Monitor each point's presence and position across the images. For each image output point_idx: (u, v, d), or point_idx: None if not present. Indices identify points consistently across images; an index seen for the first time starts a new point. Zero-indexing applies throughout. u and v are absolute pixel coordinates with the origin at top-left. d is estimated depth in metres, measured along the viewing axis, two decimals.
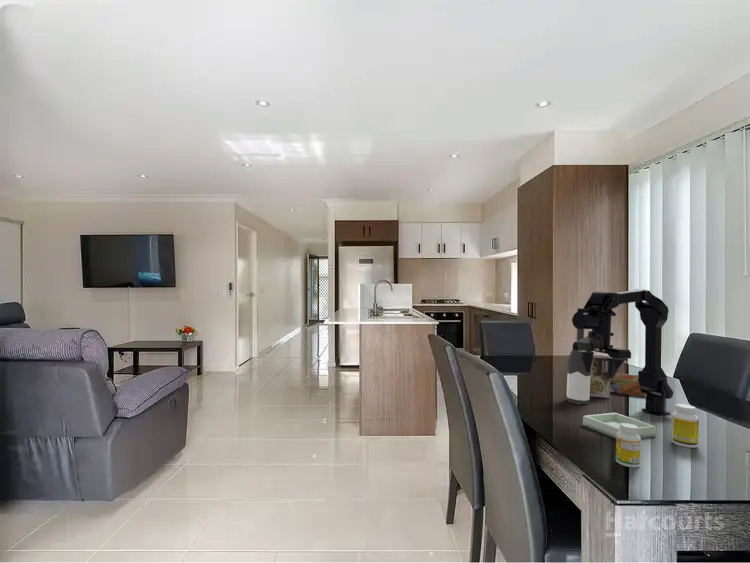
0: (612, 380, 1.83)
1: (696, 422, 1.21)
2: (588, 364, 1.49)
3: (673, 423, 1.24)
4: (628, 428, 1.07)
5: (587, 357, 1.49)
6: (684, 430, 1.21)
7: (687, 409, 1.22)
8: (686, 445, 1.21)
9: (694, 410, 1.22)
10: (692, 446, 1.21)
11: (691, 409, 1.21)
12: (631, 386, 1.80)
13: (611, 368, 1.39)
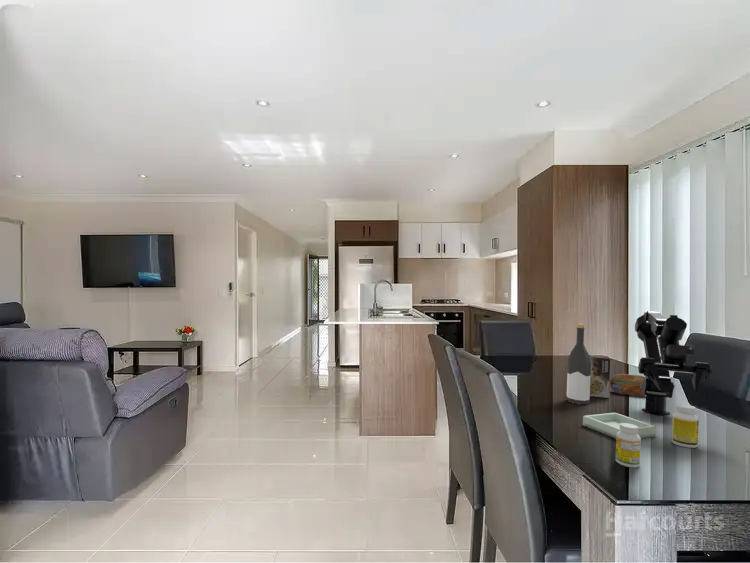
0: (612, 380, 1.83)
1: (696, 422, 1.21)
2: None
3: (673, 423, 1.24)
4: (628, 428, 1.07)
5: None
6: (684, 430, 1.21)
7: (687, 409, 1.22)
8: (686, 445, 1.21)
9: (694, 410, 1.22)
10: (692, 446, 1.21)
11: (691, 409, 1.21)
12: (631, 386, 1.80)
13: (698, 381, 1.30)
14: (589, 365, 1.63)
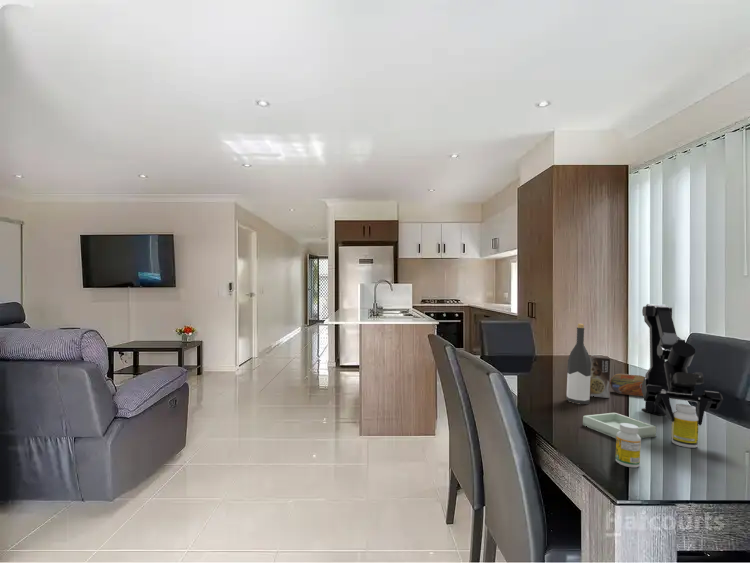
0: (612, 380, 1.83)
1: (696, 422, 1.21)
2: None
3: (673, 423, 1.24)
4: (628, 428, 1.07)
5: None
6: (684, 430, 1.21)
7: (687, 409, 1.21)
8: (686, 445, 1.21)
9: (694, 410, 1.22)
10: (692, 446, 1.21)
11: (691, 409, 1.21)
12: (631, 386, 1.80)
13: (702, 411, 1.22)
14: (589, 365, 1.63)
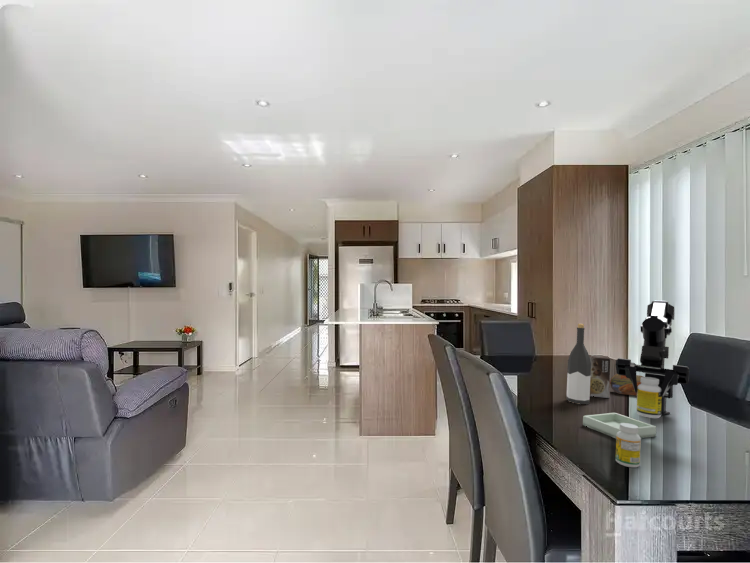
0: (612, 380, 1.83)
1: (657, 393, 1.25)
2: (636, 384, 1.31)
3: (637, 395, 1.29)
4: (628, 428, 1.07)
5: (635, 377, 1.32)
6: (644, 400, 1.26)
7: (648, 380, 1.26)
8: (646, 415, 1.26)
9: (656, 382, 1.26)
10: (652, 416, 1.25)
11: (652, 381, 1.26)
12: (631, 386, 1.80)
13: (666, 384, 1.26)
14: (589, 365, 1.63)
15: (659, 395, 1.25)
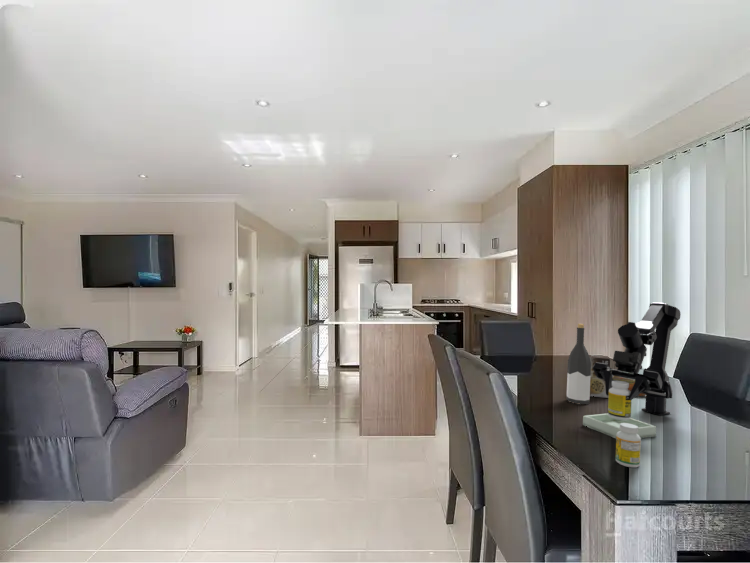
0: None
1: (624, 396, 1.30)
2: (609, 387, 1.36)
3: None
4: (628, 428, 1.07)
5: (610, 381, 1.38)
6: (613, 403, 1.32)
7: (616, 384, 1.32)
8: (614, 417, 1.32)
9: (624, 385, 1.31)
10: (620, 418, 1.31)
11: (620, 384, 1.31)
12: (631, 386, 1.80)
13: (635, 388, 1.30)
14: (589, 365, 1.63)
15: (627, 398, 1.30)
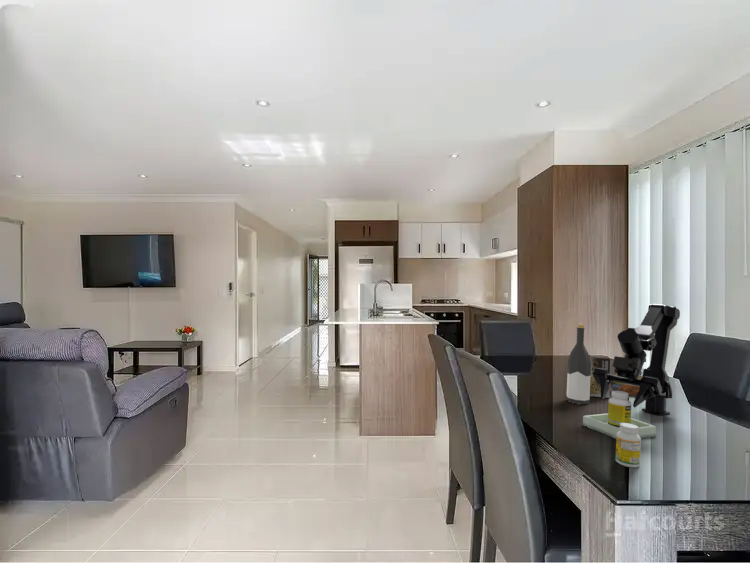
0: None
1: (624, 407, 1.30)
2: (604, 392, 1.37)
3: (608, 407, 1.35)
4: (628, 428, 1.07)
5: (605, 385, 1.38)
6: (612, 413, 1.32)
7: (616, 394, 1.32)
8: None
9: (624, 396, 1.31)
10: None
11: (620, 394, 1.31)
12: (631, 386, 1.80)
13: (639, 395, 1.29)
14: (589, 365, 1.63)
15: (626, 409, 1.30)
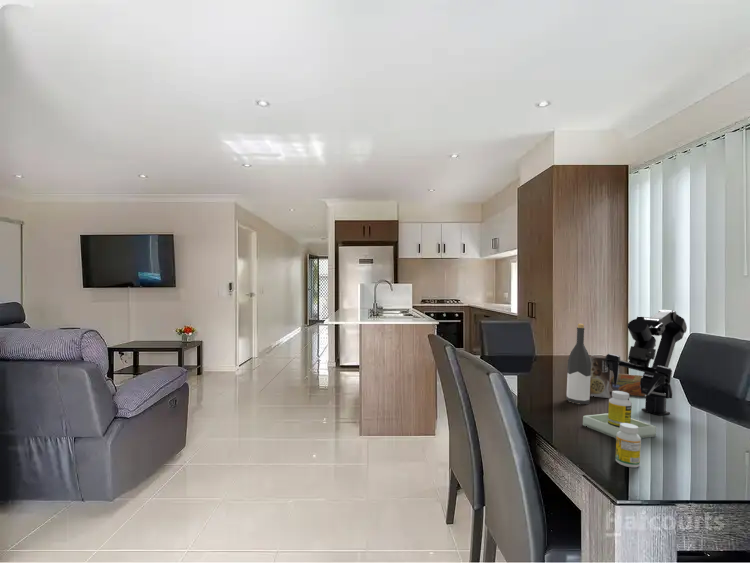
0: (612, 380, 1.83)
1: (624, 407, 1.30)
2: (617, 378, 1.43)
3: None
4: (628, 428, 1.07)
5: (617, 371, 1.44)
6: (612, 413, 1.32)
7: (617, 394, 1.32)
8: None
9: (624, 396, 1.31)
10: None
11: (620, 395, 1.31)
12: (631, 386, 1.80)
13: (653, 384, 1.36)
14: (589, 365, 1.63)
15: (627, 409, 1.30)
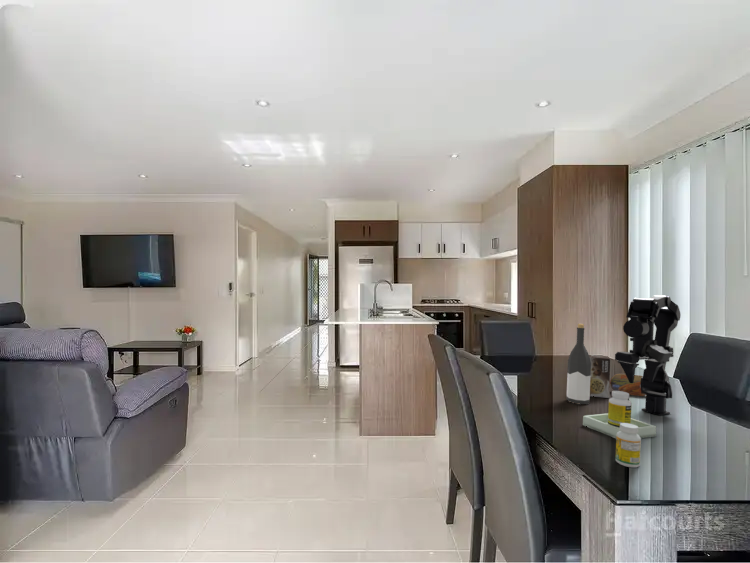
0: (612, 380, 1.83)
1: (624, 407, 1.30)
2: None
3: (608, 407, 1.35)
4: (628, 428, 1.07)
5: None
6: (612, 413, 1.32)
7: (616, 394, 1.32)
8: None
9: (624, 396, 1.31)
10: None
11: (620, 394, 1.31)
12: (631, 386, 1.80)
13: (656, 372, 1.45)
14: (589, 365, 1.63)
15: (627, 409, 1.30)
